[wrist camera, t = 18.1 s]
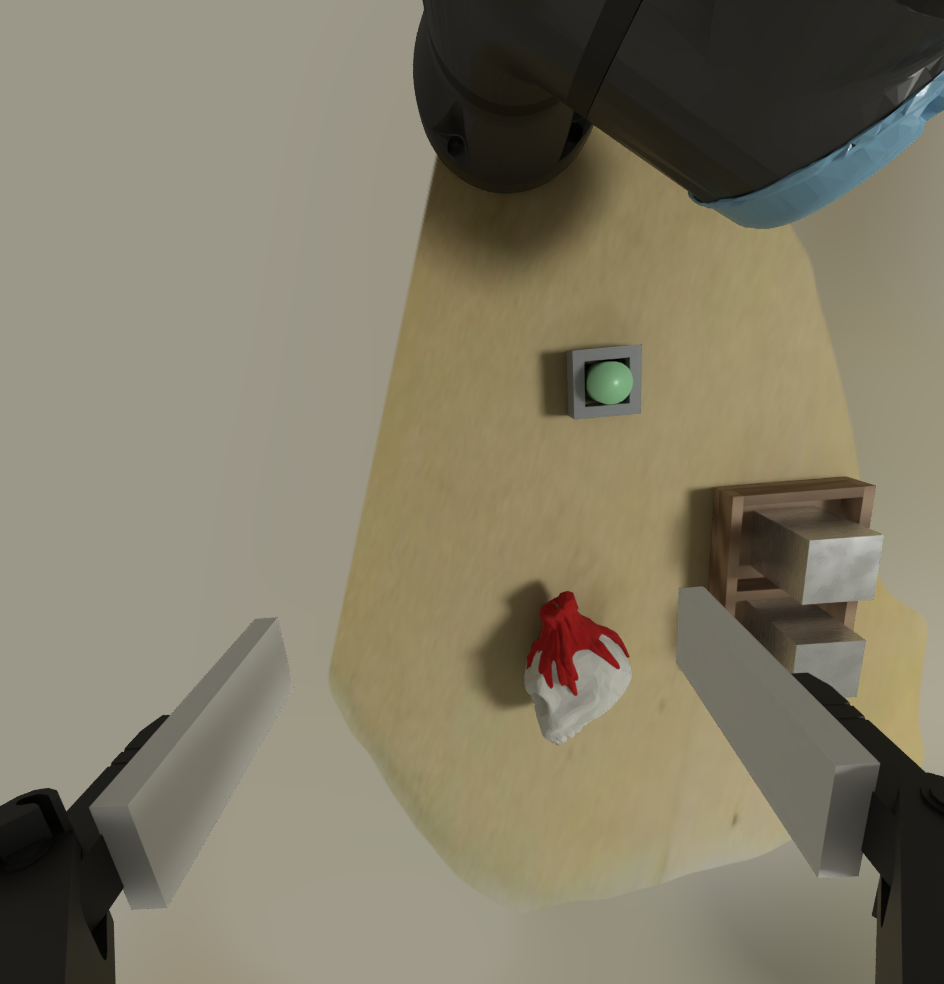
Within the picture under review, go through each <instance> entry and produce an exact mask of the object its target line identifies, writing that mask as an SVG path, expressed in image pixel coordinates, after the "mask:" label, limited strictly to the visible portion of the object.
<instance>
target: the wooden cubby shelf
mask: <svg viewBox="0 0 944 984" xmlns="http://www.w3.org/2000/svg"><path fill="white" fill-rule="evenodd" d="M875 489H876V486H875V485H872V484H869V483H865V482H862V481H859V480H856V479H853V478H849V477H836V478H824V479H811V480H799V481H786V482H774V483H761V484H749V485H736V486H724V487H715V488H714V506H713V523H712V540H711V557H710V574H709V591H708V592H709V593H710V594H711V595H712V596H713V597H714V598H715V599H716V600H717V601H718V602H719V603H720V604H721V605H722V606H723V607H724V608H725V609H726V610H727V611H728V612H729V613H730V614H731V615H732V616H733V617H734V618H735V619H736V620H737V621H738V622H739V623H740V624H741V625H742V626H743V627H744V620H745V608H746V600H756V599H770V598H785V597H791V596H790V595H788V594H787V593H786V592H784V591H783V590H782V589H780V588H779V587H778V586H776V585H775V584H774V583H772V582H771V581H770V580H768V579H767V578H766V577H764V576H763V575H762V574H760V573H759V572H758V571H756V570H755V569H754V568H752V567H751V566H750V565H749V564H750V552H751V540H752V528H753V516H754V511H755V510H768V509H780V508H793V507H806V506H817V507H819V508H822V509H824V510H827V511H829V512H831V513H834V514H836V515H838V516H841V517H843V518H845V519H848V520H850V521H852V522H855V523H857V524H860V525H862V526H864V527H867V528H869V527H870V521H871V514H872V508H873V502H874V495H875ZM857 603H858V601H848V602H833V603H819V604H816V605H817V606H819V607H820V608H822V609H823V610H824V611H826V612H827V613H828V614H830V615H831V616H833V617H834V618H835V619H837V620H838V621H840V622H841V623H842V624H844V625H845V626H847V627H848V628H849V629H851V630H852V631H853V628H854V621H855V615H856V609H857Z"/></svg>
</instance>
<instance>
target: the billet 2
mask: <svg viewBox="0 0 944 984" xmlns="http://www.w3.org/2000/svg"><path fill="white" fill-rule="evenodd" d="M744 628H745V629H746V630H747V631H748V632H749V633H750V634H751V635H752V636H753V637H754V638H755V639H756V640H757V641H758V642H759V643H760V644H761V645H762V646H763V647H764V648H765V649H766V650H767V651H768V652H769V653H770V654H771V655H772V656H773V657H774V658H775V659H776V660H777V661H778V662H779V663H780V664H781V665H782V666H783V667H784V668H785V669H786V670H787V671H788V672H789V673H790V674H791V673H807V672H808V673H810V674H811V675H813V676H815V677H817V678H818V679H820V680H822V681H824V682H825V683H827V684H829V685H831V686H832V687H833V688H834V689H835V690H836V691H837V692H839V693H840V694H841V695H842V696H843V697H844V698H846V697H857V691H858V685H859V679H860V673H861V667H862V661H863V655H864V649H865V643H866V640H865V639H863V638H862V637H861V636H859V635H858V634H856V633H855V632H854V631H852V630H851V629H849V628H848V627H847V626H845V625H844V624H842V623H841V622H840V621H838V620H837V619H835V618H834V617H833V616H831V615H830V614H828V613H827V612H826V611H824V610H823V609H822V608H820V607H819V606H817V605H816V604H805V605H802V604H801V603H799V602H798V601H797V600H795V599H794V598H793V597H785V598H770V599H756V600H746V608H745V620H744Z"/></svg>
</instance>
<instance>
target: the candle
mask: <svg viewBox="0 0 944 984" xmlns="http://www.w3.org/2000/svg"><path fill="white" fill-rule="evenodd" d="M577 610H578V606H577V603H576V600H575V597H574V594H573V593H572V592H569V591H565V592H562V593H560V594H559V596H558V597H556V598H554V599H552V600H551V601H550V602H549V603H547V604H545V605H543V606H542V607H541V609H540V617H541V620H542V624H543V626H542V632H541V635H540V637H539V639H538V640H536V641H535V642H534V643H533V645H532V648H531V651H530V653H529V654H528V657H527V662H526V669H525V676H524V681H525V690H526V692H527V693H528V694H529V695H530V697H531V699H532V700H533V702H534V703H535V706H534V707H535V711H536V716H537V719H538V722H539V726H540V729H541V732H542V734H543V736H544V737H545V738H546V739H547V740H550V741H551V742H552V743H554V742H555V743H556V744H557V745H558V746H559V745H560V742H561V743H565V742H567V739H566V738H567V737H569V738H572V737H573V736H574V735H575V732H577V733H579V732H580V731H581V729H582V726H586V724H587V723H588V722H590V721H593V720H595V719H596V718H598V717H600V716H601V715H602V714H604V713H605V712H606V711H608V710H609V709H610V708H611V707H612V706H613V705H614V703H616V702H617V701H618V700H619V699H620V697H621V696H622V695H623V693H624V692H625V690H626V689H627V687H628V685H629V683H630V681H631V675H632V673H631V667H630V665H629V662H628V660H627V658H626V657H628V658H629V657H630V656H629V654H628V652H627V649H626V647H625V645H624V643H623V641H622V640H621V638H620V637H619V636H618V634H617V633H616V632H615V631H613V630H611V629H609V628H607V627H604V626H601V625H597V624H596V623H594V622H593V621H592V620H591V619H589V618H587V617H585V616H583V615H581V614H580V613H579V612H578V611H577ZM625 655H626V656H625Z"/></svg>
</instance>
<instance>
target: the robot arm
mask: <svg viewBox="0 0 944 984" xmlns="http://www.w3.org/2000/svg"><path fill="white" fill-rule="evenodd" d="M423 5H424V12H423V15H422V18H421V22H420V25H419V28H418V32H417V37H416V42H415V49H414V60H413V79H414V89H415V96H416V101H417V105H418V109H419V113H420V117H421V121H422V124H423V127H424V130H425V133H426V135H427V137H428V139H429V141H430V143H431V145H432V147H433V149H434V150H435V152H436V153H437V155H438V156H439V158H440V159H441V160H442V161H443V163H444V164H445V165H446V166H447V167H448V168H449V169H450V170H451V171H452V172H453V173H455V174H456V175H457V176H458V177H460V178H461V179H463V180H464V181H466V182H467V183H469V184H471V185H473V186H475V187H478V188H480V189H483V190H487V191H491V192H498V193H516V192H522V191H526V190H530V189H533V188H535V187H538V186H540V185H542V184H544V183H546V182H548V181H549V180H551V179H553V178H554V177H555V176H557V175H558V174H559V173H561V172H562V171H563V170H564V169H565V168H566V167H567V166H568V165H569V164H570V163H571V162H572V161H573V160H574V158H575V157H576V156H577V154H578V153H579V152H580V150H581V149H582V147H583V146H584V144H585V142H586V140H587V139H588V137H589V135H590V133H591V130H592V128H593V126H594V125H595V126H596V127H597V128H599V129H600V130H602V131H603V132H605V133H606V134H607V135H609V136H610V137H612V138H613V139H614V140H616V141H617V142H619V143H620V144H622V145H623V146H624V147H626V148H627V149H629V150H630V151H632V152H633V153H634V154H636V155H637V156H639V157H640V158H642V159H643V160H644V161H646V162H647V163H649V164H650V165H651V166H653V167H654V168H656V169H657V170H659V171H660V172H661V173H663V174H664V175H666V176H667V177H669V178H670V179H671V180H673V181H674V182H676V183H677V184H679V185H680V186H681V187H683V188H684V189H686V190H687V191H688V195H689V197H690V198H691V199H692V200H693V201H694V202H695V203H696V204H698V205H700V206H704V207H707V208H712V209H714V210H716V211H717V212H719V213H720V214H722V215H724V216H725V217H727V218H728V219H730V220H732V221H733V222H735V223H736V224H738V225H740V226H743V227H748V228H755V229H770V228H775V227H779V226H783V225H786V224H789V223H792V222H795V221H797V220H800V219H802V218H804V217H806V216H808V215H810V214H812V213H814V212H816V211H818V210H820V209H822V208H823V207H825V206H827V205H829V204H830V203H832V202H834V201H835V200H837V199H838V198H840V197H842V196H843V195H845V194H846V193H848V192H850V191H851V190H852V189H854V188H855V187H857V186H858V185H860V184H861V183H862V182H864V181H865V180H866V179H868V178H870V177H871V176H872V175H874V174H875V173H876V172H878V171H879V170H880V169H881V168H883V167H884V166H885V165H887V164H888V163H889V162H890V161H891V160H893V159H894V158H895V157H896V156H898V155H899V154H900V153H901V152H902V151H904V150H905V149H906V148H907V147H908V146H909V145H910V144H911V143H913V142H914V141H915V140H916V139H917V138H918V137H919V136H920V135H921V134H922V133H923V130H924V124H925V123H926V122H927V121H928V120H929V119H931V118H932V117H934V116H935V115H937V114H938V113H940V112H942V111H943V110H944V0H423ZM676 662H677V664H678V665H679V667H680V668H681V670H682V672H683V673H684V675H685V676H686V678H687V679H688V681H689V682H690V684H691V685H692V687H693V688H694V690H695V691H696V693H697V694H698V696H699V697H700V699H701V700H702V702H703V704H704V705H705V707H706V708H707V710H708V711H709V713H710V714H711V716H712V717H713V719H714V720H715V722H716V723H717V725H718V726H719V728H720V729H721V731H722V733H723V734H724V736H725V737H726V739H727V740H728V742H729V743H730V745H731V746H732V748H733V749H734V751H735V752H736V754H737V755H738V757H739V758H740V760H741V761H742V763H743V765H744V766H745V768H746V769H747V771H748V772H749V774H750V775H751V777H752V778H753V780H754V781H755V783H756V784H757V786H758V787H759V789H760V790H761V792H762V793H763V795H764V797H765V798H766V800H767V801H768V803H769V804H770V806H771V807H772V809H773V810H774V812H775V813H776V815H777V816H778V818H779V819H780V821H781V822H782V824H783V825H784V827H785V829H786V830H787V832H788V833H789V835H790V836H791V838H792V839H793V841H794V842H795V843H796V845H797V847H798V848H799V850H800V851H801V853H802V854H803V856H804V857H805V859H806V860H807V862H808V864H809V865H810V866H811V868H812V870H813V871H814V872H815V874H816V876H817V877H818V878H829V877H851V876H858V875H859V870H860V866H861V860H862V855H863V853H864V854H865V856H866V857H867V858H868V860H869V861H870V862H871V863H872V865H873V866H874V867H875V868H876V870H877V871H878V872H879V873H880V879H879V884H878V888H877V893H876V898H875V902H874V908H873V912H872V916H874V917H875V918H877V938H876V975H875V984H944V777H943V776H939V775H935V774H932V773H926V772H925V771H923V770H922V769H921V768H920V767H919V766H918V765H917V764H916V763H915V762H914V761H913V760H912V759H910V758H909V757H908V756H907V755H906V754H905V753H904V752H903V751H902V750H901V749H900V748H898V747H897V746H896V745H895V744H894V743H893V742H892V741H891V740H890V739H889V738H888V737H886V736H885V735H884V734H883V733H882V732H881V731H880V730H879V729H878V728H877V727H876V726H874V725H873V724H872V723H871V722H870V721H869V720H866V719H865V717H864V715H863V714H861V713H860V712H859V711H858V710H857V709H856V708H855V707H854V706H851V705H850V703H849V702H848V701H847V700H846V699H845V698H844V697H843V696H842V695H841V694H840V693H839V692H837V691H836V690H835V689H834V688H833V687H832V686H831V685H829V684H827V683H825V682H824V681H822V680H820V679H818V678H817V677H815V676H813V675H811V674H810V673H808V672H807V673H791V674H790V673H789V672H788V671H787V670H786V669H785V668H784V667H783V666H782V665H781V664H780V663H779V662H778V661H777V660H776V659H775V658H774V657H773V656H772V655H771V654H770V653H769V652H768V651H767V650H766V649H765V648H764V647H763V646H762V645H761V644H760V643H759V642H758V641H757V640H756V639H755V638H754V637H753V636H752V635H751V634H750V633H749V632H748V631H747V630H746V629H745V628H744V627H743V626H742V625H741V624H740V623H739V622H738V621H737V620H736V619H735V618H734V617H733V616H732V615H731V614H730V613H729V612H728V611H727V610H726V609H725V608H724V607H723V606H722V605H721V604H720V603H719V602H718V601H717V600H716V599H715V598H714V597H713V596H712V595H711V594H710V593H709V592H708V591H707V590H706V589H705V588H704V587H703V586H701V587H687V588H679V599H678V626H677V654H676ZM293 688H294V685H293V681H292V677H291V673H290V668H289V664H288V660H287V655H286V652H285V647H284V643H283V638H282V634H281V630H280V626H279V621H278V618H277V617H276V618H262V619H255V620H254V621H253V622H252V623H251V624H250V625H249V626H248V628H247V629H246V630H245V631H244V632H243V633H242V634H241V636H240V637H239V638H238V639H237V640H236V641H235V642H234V644H233V645H232V646H231V647H230V648H229V649H228V650H227V652H226V653H225V654H224V655H223V656H222V657H221V658H220V659H219V661H218V662H217V663H216V664H215V665H214V666H213V667H212V669H211V670H210V671H209V672H208V673H207V674H206V675H205V676H204V678H203V679H202V680H201V681H200V682H199V683H198V684H197V685H196V687H195V688H194V689H193V690H192V691H191V692H190V693H189V695H188V696H187V697H186V698H185V699H184V700H183V702H182V703H181V704H180V705H179V706H178V707H177V708H176V709H175V710H174V712H173V713H172V714H171V715H162V716H161V717H159V718H158V719H157V720H155V721H154V722H152V723H151V724H150V725H149V726H147V727H146V728H144V729H143V730H142V731H140V732H139V734H138V735H137V736H136V737H135V738H134V739H133V740H132V741H131V742H130V743H129V744H128V745H127V747H126V748H125V750H124V752H121V753H120V754H119V755H118V756H117V757H116V758H115V759H114V761H113V762H112V763H111V766H110V767H107V768H106V769H105V770H104V771H103V772H102V774H101V775H100V776H99V777H98V778H97V779H96V780H95V781H94V782H93V783H92V784H91V785H90V787H89V788H88V789H87V790H86V791H85V792H84V793H83V794H82V795H81V796H80V797H79V799H78V800H77V801H76V802H75V803H74V804H73V805H72V806H71V807H70V808H69V809H68V810H67V811H66V810H65V808H64V806H63V803H62V801H61V799H60V796H59V794H58V792H57V790H54V789H50V788H45V789H38V790H33V791H31V792H28V793H25V794H23V795H20V796H18V797H16V798H14V799H12V800H10V801H9V802H7V803H5V804H3V805H1V806H0V984H115V950H114V922H113V918H112V916H111V913H110V911H109V909H110V907H111V906H112V904H113V903H114V901H115V900H116V898H117V897H118V895H119V894H120V893H121V891H122V890H124V893H125V895H126V897H127V900H128V902H129V905H130V907H131V909H153V908H167V907H168V905H169V904H170V902H171V900H172V898H173V897H174V895H175V893H176V891H177V890H178V888H179V886H180V885H181V883H182V881H183V879H184V877H185V876H186V874H187V872H188V871H189V869H190V867H191V865H192V864H193V862H194V860H195V858H196V857H197V855H198V853H199V851H200V850H201V848H202V846H203V845H204V843H205V841H206V839H207V838H208V836H209V834H210V832H211V831H212V829H213V827H214V825H215V824H216V822H217V820H218V819H219V817H220V815H221V813H222V811H223V810H224V808H225V806H226V805H227V803H228V801H229V799H230V798H231V796H232V794H233V792H234V791H235V789H236V787H237V785H238V784H239V782H240V780H241V778H242V777H243V775H244V773H245V771H246V770H247V768H248V766H249V765H250V763H251V761H252V759H253V758H254V756H255V754H256V752H257V751H258V749H259V747H260V745H261V744H262V742H263V740H264V739H265V737H266V735H267V733H268V732H269V730H270V728H271V726H272V725H273V723H274V721H275V719H276V718H277V716H278V714H279V712H280V711H281V709H282V707H283V705H284V704H285V702H286V700H287V698H288V697H289V695H290V693H291V692H292V690H293Z"/></svg>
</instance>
